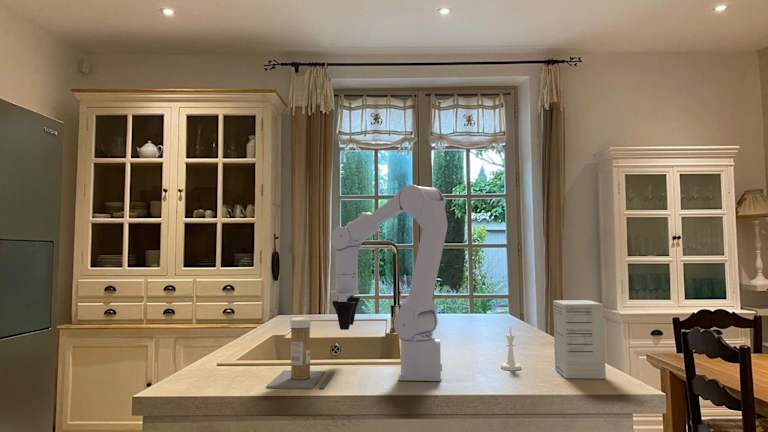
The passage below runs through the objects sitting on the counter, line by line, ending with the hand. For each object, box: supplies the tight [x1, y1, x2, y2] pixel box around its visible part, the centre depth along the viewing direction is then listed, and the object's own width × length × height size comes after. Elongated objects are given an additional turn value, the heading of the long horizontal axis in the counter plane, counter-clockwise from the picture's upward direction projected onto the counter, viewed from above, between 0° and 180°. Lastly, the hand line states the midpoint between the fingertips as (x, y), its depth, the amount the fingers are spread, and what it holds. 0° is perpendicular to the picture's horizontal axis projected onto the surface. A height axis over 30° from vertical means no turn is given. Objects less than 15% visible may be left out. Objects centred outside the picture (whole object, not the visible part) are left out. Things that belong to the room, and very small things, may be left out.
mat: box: [265, 369, 326, 390], centre depth 121 cm, size 10×14×1 cm
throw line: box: [318, 370, 336, 390], centre depth 121 cm, size 1×14×1 cm, turn 175°
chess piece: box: [500, 326, 522, 371], centre depth 131 cm, size 5×5×10 cm
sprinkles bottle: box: [289, 317, 312, 380], centre depth 122 cm, size 5×5×14 cm
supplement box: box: [552, 299, 607, 380], centre depth 125 cm, size 10×9×17 cm
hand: (346, 327), depth 137 cm, fingers open, 7 cm apart
